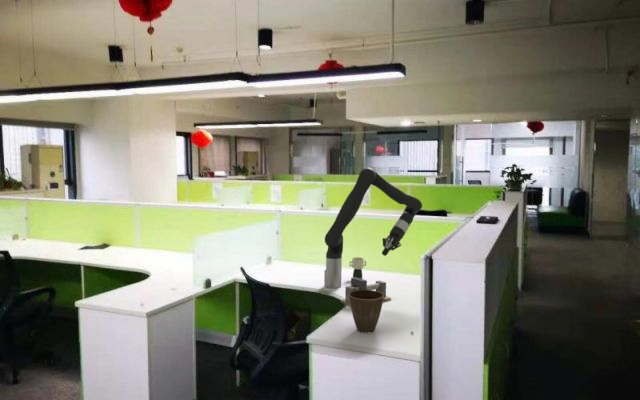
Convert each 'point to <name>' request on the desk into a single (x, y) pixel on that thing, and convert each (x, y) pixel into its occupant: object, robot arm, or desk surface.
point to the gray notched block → (359, 283)
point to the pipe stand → (379, 287)
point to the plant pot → (366, 309)
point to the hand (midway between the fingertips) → (383, 254)
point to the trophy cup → (357, 266)
